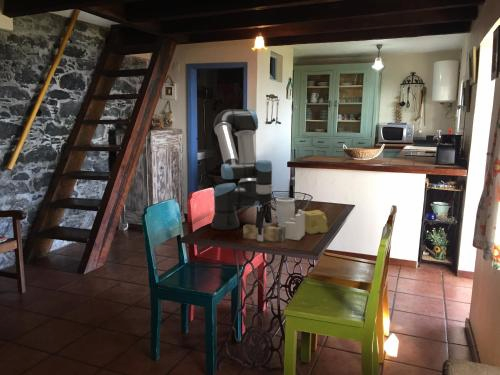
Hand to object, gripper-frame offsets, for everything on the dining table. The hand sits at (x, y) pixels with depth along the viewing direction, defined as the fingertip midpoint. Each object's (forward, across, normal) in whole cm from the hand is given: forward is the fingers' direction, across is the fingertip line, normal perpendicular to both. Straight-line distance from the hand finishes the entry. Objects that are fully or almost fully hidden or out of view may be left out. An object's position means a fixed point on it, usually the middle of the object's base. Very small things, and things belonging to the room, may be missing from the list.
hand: (263, 238), depth 205 cm
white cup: (+1, +28, -2) cm, 28 cm away
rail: (0, 0, 0) cm, 0 cm away
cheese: (+1, +23, -19) cm, 30 cm away
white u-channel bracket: (0, +9, -14) cm, 17 cm away
